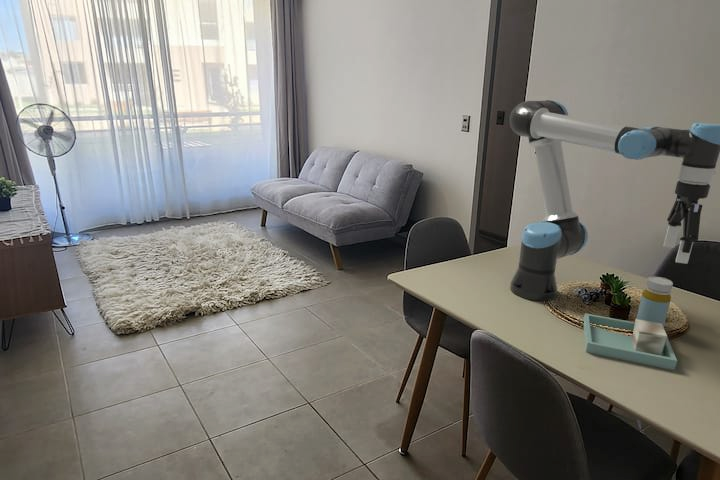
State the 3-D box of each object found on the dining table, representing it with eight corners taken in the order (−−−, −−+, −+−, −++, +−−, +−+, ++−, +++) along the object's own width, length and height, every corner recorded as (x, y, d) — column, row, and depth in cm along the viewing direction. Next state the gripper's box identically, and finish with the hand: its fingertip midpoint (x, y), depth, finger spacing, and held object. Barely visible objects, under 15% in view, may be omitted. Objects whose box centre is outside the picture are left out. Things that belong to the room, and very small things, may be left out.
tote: (585, 354, 122) (587, 342, 121) (582, 323, 137) (584, 313, 136) (673, 373, 115) (677, 360, 113) (660, 338, 130) (663, 327, 129)
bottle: (653, 335, 132) (665, 287, 127) (630, 324, 138) (640, 278, 133) (667, 330, 135) (680, 283, 130) (644, 319, 141) (655, 274, 136)
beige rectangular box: (634, 351, 122) (639, 331, 120) (630, 338, 128) (635, 318, 126) (661, 357, 120) (667, 336, 118) (656, 343, 126) (661, 323, 124)
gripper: (727, 192, 114) (704, 272, 121) (696, 175, 136) (677, 242, 143) (691, 189, 116) (671, 267, 123) (666, 172, 138) (650, 239, 145)
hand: (674, 254), depth 133 cm, fingers open, 13 cm apart
